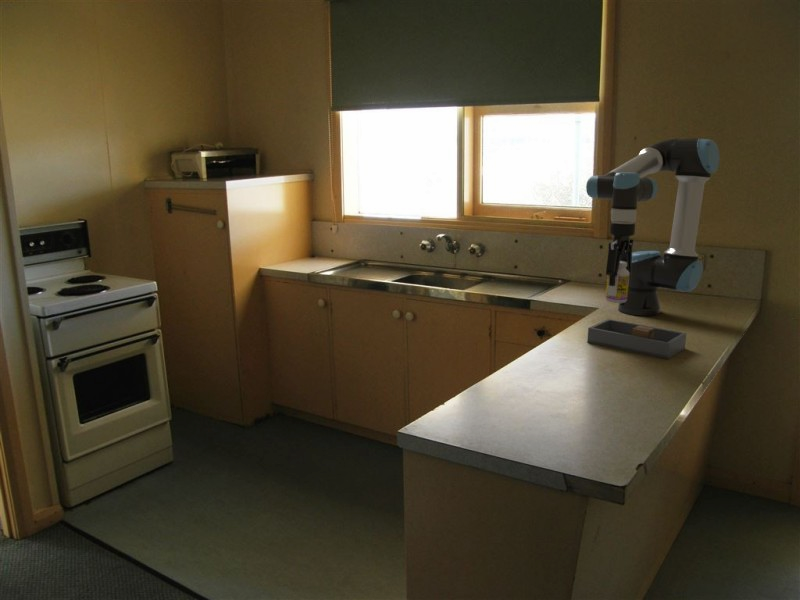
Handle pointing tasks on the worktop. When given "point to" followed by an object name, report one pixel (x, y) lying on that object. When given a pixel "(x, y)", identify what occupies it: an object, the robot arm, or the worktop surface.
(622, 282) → the supplement bottle
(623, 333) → the tray
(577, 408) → the worktop surface
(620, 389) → the worktop surface
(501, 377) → the worktop surface
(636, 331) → the walnut cube
